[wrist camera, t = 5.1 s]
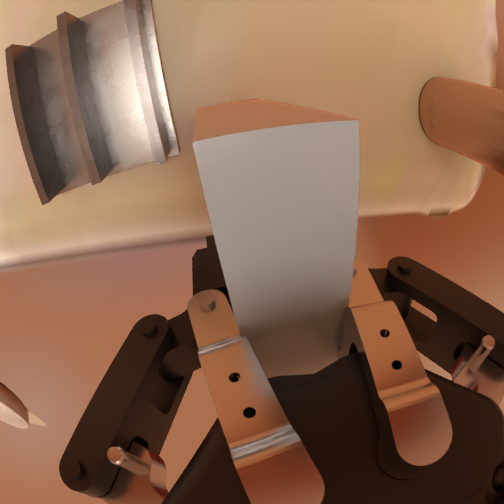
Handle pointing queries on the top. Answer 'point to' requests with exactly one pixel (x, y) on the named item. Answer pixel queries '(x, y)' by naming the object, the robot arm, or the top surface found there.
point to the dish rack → (91, 98)
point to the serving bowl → (12, 409)
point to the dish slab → (282, 224)
